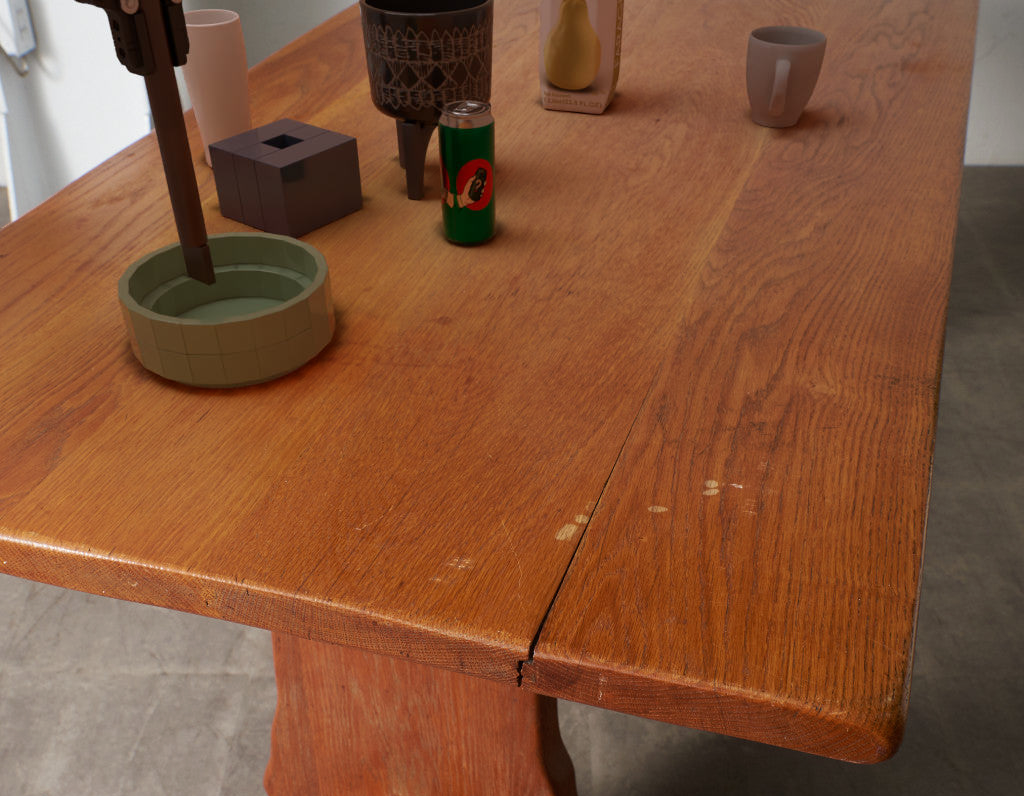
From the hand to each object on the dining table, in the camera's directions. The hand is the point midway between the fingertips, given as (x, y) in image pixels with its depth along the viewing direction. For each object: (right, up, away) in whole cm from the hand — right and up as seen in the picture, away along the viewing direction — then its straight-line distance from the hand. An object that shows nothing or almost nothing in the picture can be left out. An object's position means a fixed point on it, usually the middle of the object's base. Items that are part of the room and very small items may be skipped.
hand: (157, 67), depth 66 cm
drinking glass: (-8, +9, +46) cm, 47 cm away
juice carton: (+32, +22, +61) cm, 72 cm away
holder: (+1, +1, +35) cm, 35 cm away
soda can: (+19, -3, +31) cm, 36 cm away
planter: (+15, +6, +42) cm, 45 cm away
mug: (+55, +17, +55) cm, 80 cm away
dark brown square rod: (0, -12, +10) cm, 15 cm away
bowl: (+1, -16, +15) cm, 22 cm away
